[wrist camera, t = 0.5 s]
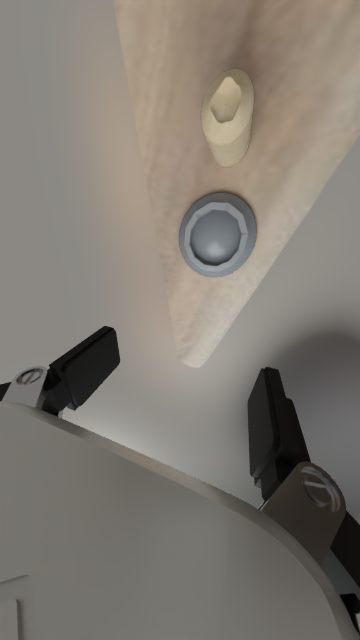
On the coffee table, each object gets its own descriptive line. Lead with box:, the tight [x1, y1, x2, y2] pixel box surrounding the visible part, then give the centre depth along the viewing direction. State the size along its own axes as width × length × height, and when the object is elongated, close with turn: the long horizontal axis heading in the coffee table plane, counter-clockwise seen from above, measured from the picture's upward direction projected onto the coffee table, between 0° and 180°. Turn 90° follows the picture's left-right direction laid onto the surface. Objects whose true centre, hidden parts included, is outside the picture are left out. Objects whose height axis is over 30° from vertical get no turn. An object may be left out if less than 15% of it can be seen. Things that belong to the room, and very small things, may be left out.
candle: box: [201, 69, 254, 167], centre depth 21 cm, size 6×6×10 cm
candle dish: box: [179, 193, 256, 277], centre depth 31 cm, size 14×14×2 cm
